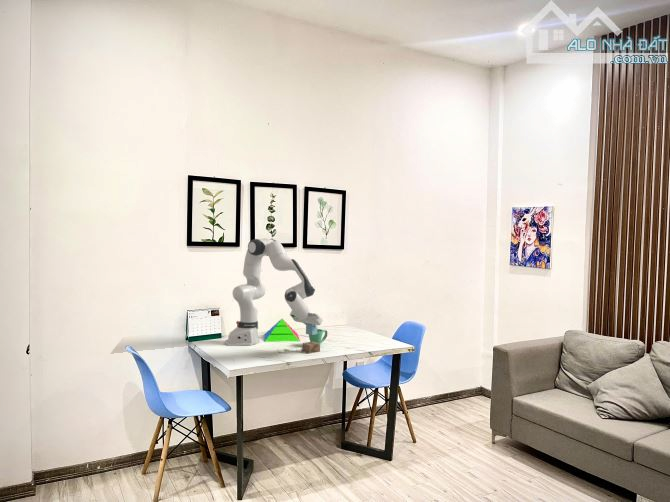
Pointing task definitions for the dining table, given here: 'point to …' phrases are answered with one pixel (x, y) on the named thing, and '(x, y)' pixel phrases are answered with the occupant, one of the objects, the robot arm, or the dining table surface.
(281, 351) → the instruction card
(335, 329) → the dining table surface
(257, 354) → the dining table surface
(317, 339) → the mug
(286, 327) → the pyramid toy
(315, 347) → the base block
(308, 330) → the teal brick
